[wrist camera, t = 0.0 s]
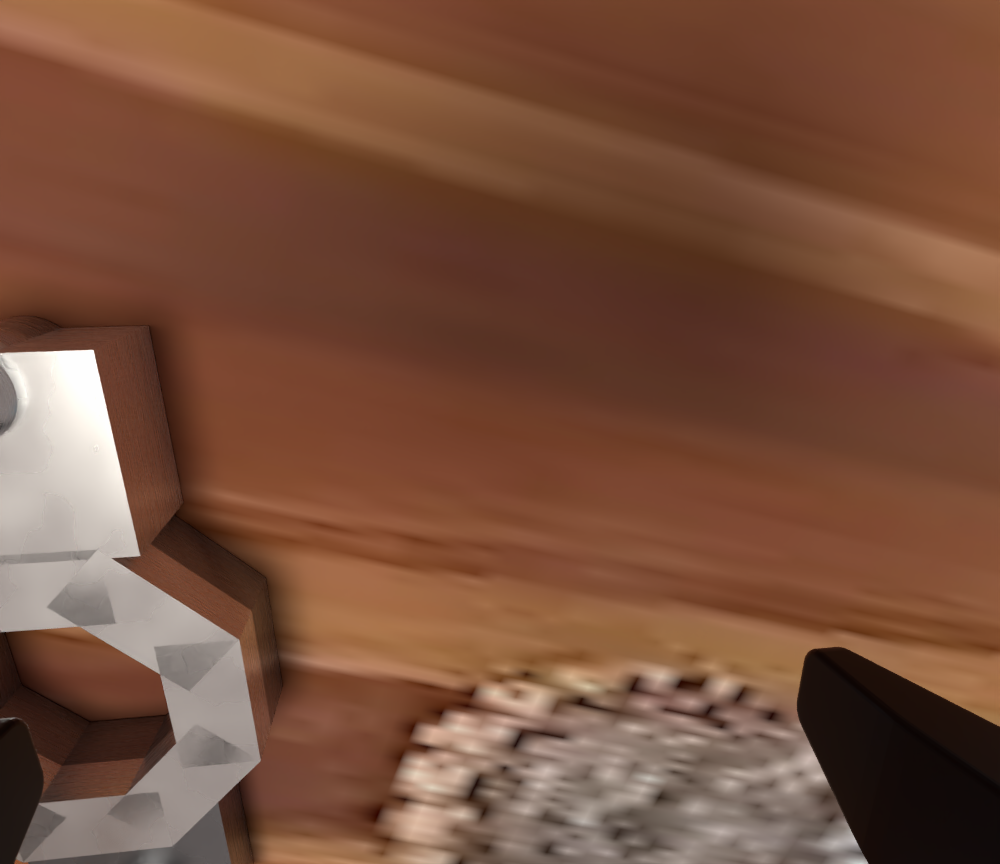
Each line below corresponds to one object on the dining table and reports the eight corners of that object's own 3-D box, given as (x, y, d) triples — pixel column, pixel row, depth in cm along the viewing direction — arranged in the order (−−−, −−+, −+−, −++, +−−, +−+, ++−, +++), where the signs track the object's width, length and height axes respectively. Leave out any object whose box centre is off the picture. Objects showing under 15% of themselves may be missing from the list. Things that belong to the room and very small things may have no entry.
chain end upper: (293, 754, 26) (270, 849, 22) (-19, 784, 25) (-98, 888, 21) (224, 310, 20) (177, 335, 16) (-191, 321, 19) (-346, 351, 15)
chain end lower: (310, 864, 28) (296, 944, 25) (23, 896, 27) (-28, 984, 24) (252, 490, 22) (225, 536, 19) (-120, 511, 21) (-213, 563, 18)
